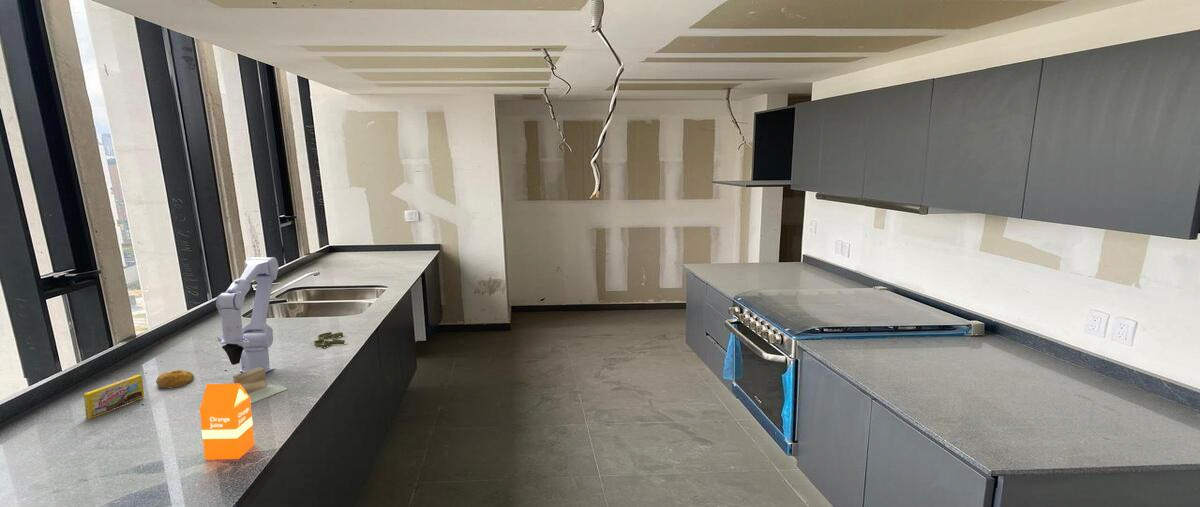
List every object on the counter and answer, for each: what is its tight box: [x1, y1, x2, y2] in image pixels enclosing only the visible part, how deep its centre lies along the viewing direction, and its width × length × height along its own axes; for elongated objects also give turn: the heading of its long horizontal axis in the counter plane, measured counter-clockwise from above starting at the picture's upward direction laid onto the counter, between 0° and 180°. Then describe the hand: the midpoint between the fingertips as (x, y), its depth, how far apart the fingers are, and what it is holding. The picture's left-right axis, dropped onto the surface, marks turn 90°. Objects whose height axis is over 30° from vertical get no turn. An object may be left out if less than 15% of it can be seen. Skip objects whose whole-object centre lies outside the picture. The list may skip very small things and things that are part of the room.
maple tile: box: [232, 367, 267, 394], centre depth 186 cm, size 3×9×7 cm, turn 156°
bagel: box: [155, 369, 195, 389], centre depth 191 cm, size 10×11×5 cm
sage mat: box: [248, 384, 288, 405], centre depth 184 cm, size 8×13×1 cm, turn 156°
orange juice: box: [199, 383, 255, 460], centre depth 146 cm, size 8×9×20 cm
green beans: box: [313, 331, 346, 349], centre depth 239 cm, size 18×12×2 cm, turn 28°
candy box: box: [83, 374, 145, 419], centre depth 171 cm, size 16×2×8 cm, turn 168°
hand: (235, 363), depth 187 cm, fingers closed
